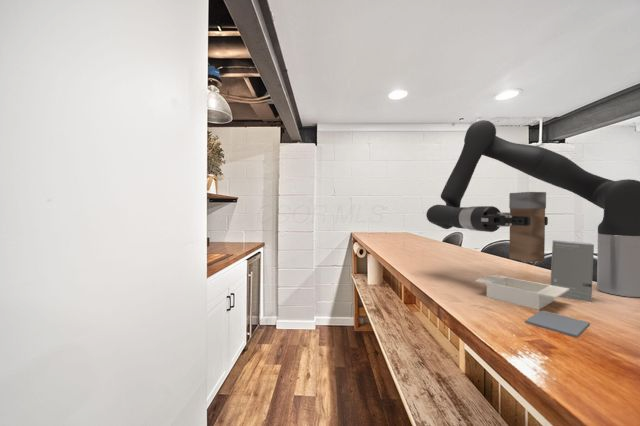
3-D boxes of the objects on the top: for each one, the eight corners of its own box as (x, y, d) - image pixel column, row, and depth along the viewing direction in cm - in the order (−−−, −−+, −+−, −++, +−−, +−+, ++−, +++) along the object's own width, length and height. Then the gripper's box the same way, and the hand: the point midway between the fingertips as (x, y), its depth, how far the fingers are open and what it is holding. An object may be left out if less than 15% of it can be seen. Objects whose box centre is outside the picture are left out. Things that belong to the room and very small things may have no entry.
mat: (541, 314, 61) (541, 310, 61) (589, 327, 55) (589, 322, 55) (524, 325, 55) (524, 320, 55) (576, 340, 49) (576, 335, 49)
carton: (493, 289, 81) (493, 274, 81) (569, 306, 67) (569, 288, 66) (475, 296, 74) (475, 280, 74) (555, 316, 60) (555, 296, 60)
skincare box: (550, 297, 73) (551, 241, 73) (550, 291, 79) (550, 238, 79) (594, 304, 68) (594, 243, 68) (590, 297, 73) (591, 241, 73)
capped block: (523, 257, 70) (524, 193, 70) (545, 260, 65) (546, 192, 65) (508, 258, 69) (509, 193, 68) (529, 262, 64) (530, 191, 63)
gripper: (460, 206, 78) (515, 205, 62) (498, 206, 82) (560, 205, 66) (459, 231, 79) (515, 237, 62) (497, 230, 82) (559, 235, 66)
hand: (537, 221), depth 64 cm, fingers closed on capped block, 5 cm apart
